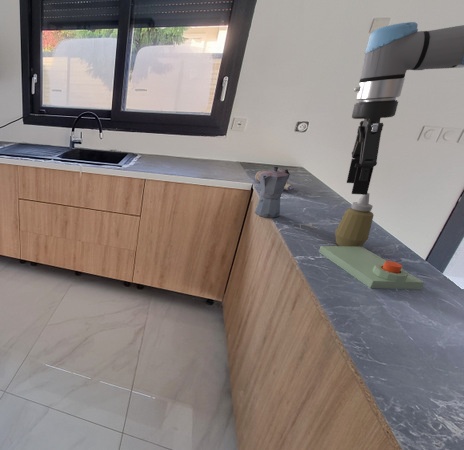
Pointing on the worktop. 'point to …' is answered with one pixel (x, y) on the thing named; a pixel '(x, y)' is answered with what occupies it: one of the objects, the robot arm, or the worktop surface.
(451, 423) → the worktop surface
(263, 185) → the moka pot
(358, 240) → the squeeze bottle
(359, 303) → the worktop surface
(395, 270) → the switch
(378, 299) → the worktop surface
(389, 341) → the worktop surface
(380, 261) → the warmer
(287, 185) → the decorative bottle
